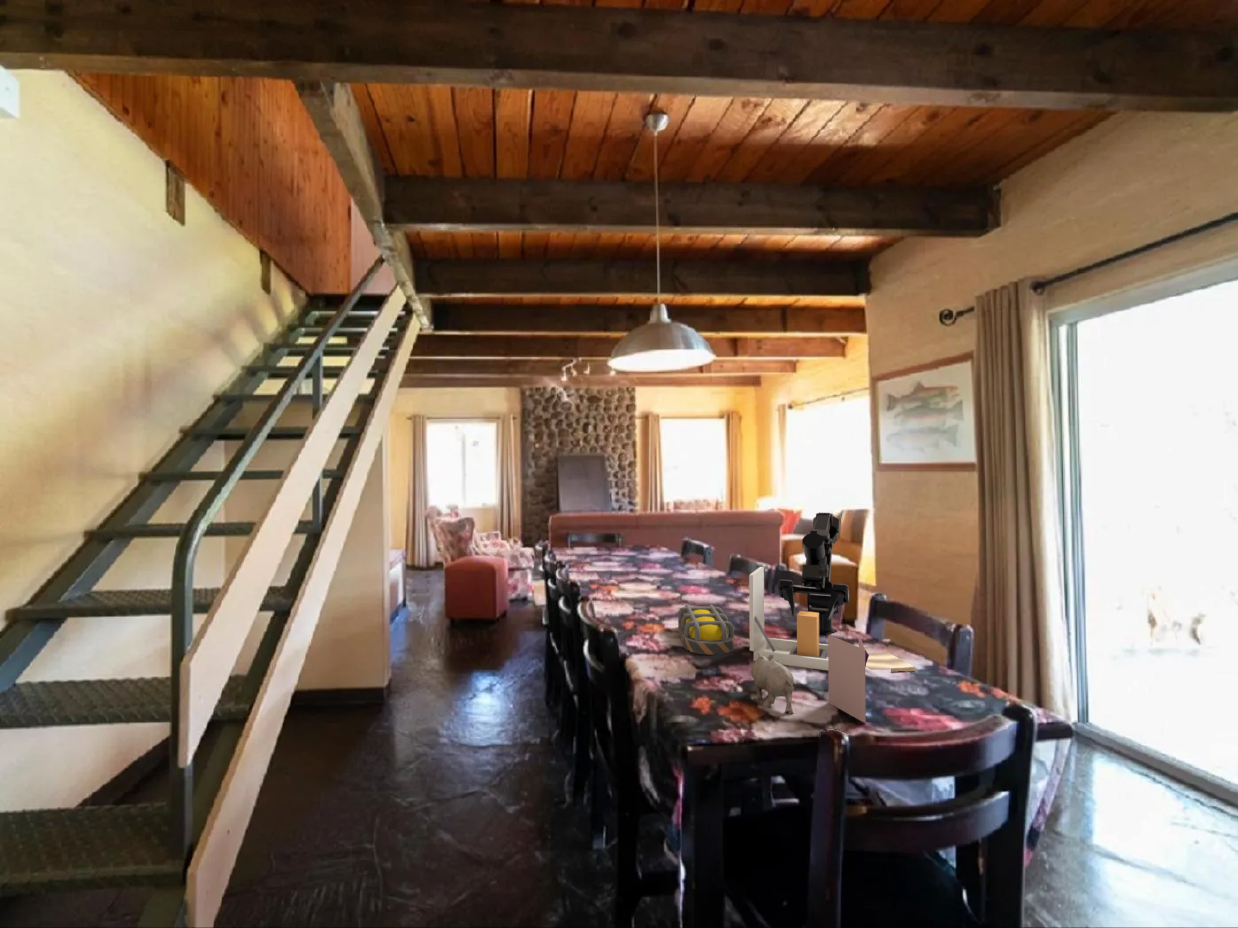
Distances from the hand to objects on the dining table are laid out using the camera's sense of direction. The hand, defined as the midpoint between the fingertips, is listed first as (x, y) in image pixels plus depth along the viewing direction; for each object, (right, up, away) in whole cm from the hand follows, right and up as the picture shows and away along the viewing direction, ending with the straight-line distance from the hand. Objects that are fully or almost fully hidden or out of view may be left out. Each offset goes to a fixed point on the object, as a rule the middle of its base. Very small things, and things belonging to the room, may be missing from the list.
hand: (810, 617), depth 164 cm
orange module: (-2, -10, -4) cm, 11 cm away
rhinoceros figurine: (-18, -11, -29) cm, 35 cm away
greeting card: (-3, -11, -35) cm, 37 cm away
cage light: (-26, -12, +19) cm, 34 cm away
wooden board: (+16, -11, -6) cm, 21 cm away
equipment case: (-5, -11, -3) cm, 12 cm away
